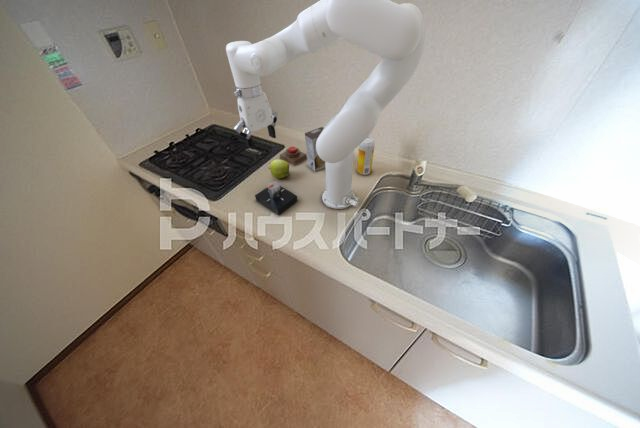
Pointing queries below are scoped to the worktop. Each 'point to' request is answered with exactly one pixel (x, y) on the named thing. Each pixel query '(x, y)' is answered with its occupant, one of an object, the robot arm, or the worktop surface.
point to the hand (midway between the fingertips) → (262, 142)
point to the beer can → (365, 156)
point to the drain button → (292, 149)
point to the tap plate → (276, 200)
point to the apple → (279, 168)
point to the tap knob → (274, 190)
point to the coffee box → (313, 149)
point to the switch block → (293, 156)
